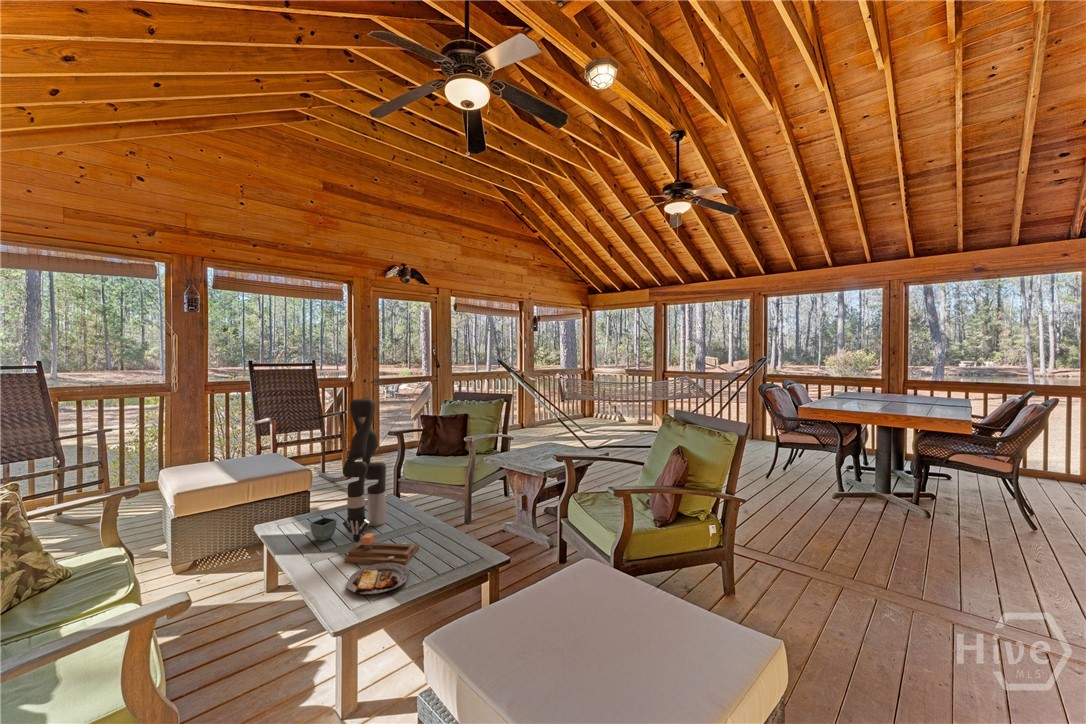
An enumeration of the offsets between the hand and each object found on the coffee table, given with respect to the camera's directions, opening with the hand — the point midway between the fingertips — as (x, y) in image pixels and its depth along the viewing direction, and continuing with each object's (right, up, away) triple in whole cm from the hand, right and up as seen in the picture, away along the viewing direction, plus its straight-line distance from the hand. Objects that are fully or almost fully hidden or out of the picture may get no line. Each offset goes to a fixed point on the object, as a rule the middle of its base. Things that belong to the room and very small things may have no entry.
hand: (356, 541), depth 205 cm
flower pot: (-24, -6, +17) cm, 30 cm away
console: (+12, -6, -1) cm, 14 cm away
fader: (+6, -4, 0) cm, 7 cm away
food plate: (+19, -7, -24) cm, 31 cm away
